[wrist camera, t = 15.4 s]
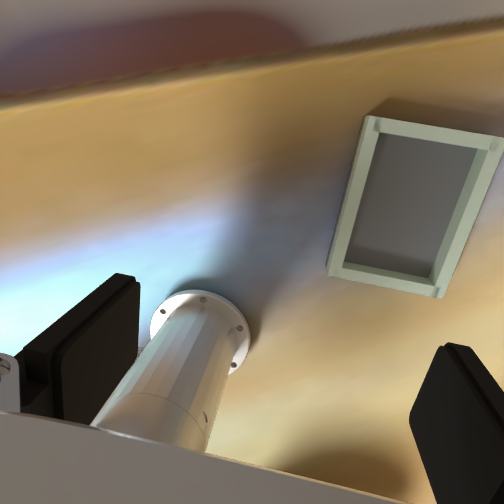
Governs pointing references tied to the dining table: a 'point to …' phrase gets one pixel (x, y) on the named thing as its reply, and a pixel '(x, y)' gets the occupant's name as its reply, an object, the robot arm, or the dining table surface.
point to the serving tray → (410, 204)
